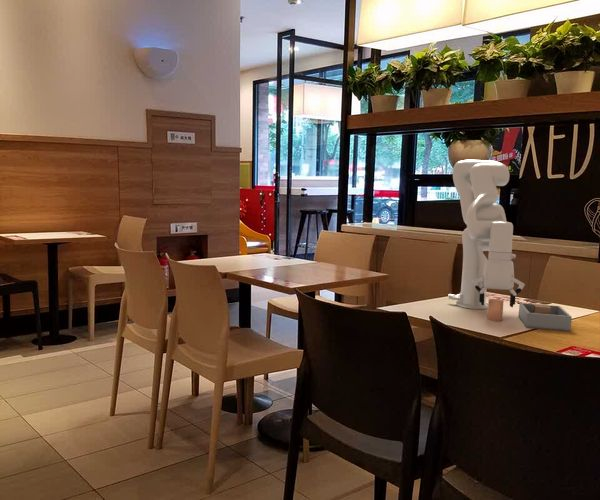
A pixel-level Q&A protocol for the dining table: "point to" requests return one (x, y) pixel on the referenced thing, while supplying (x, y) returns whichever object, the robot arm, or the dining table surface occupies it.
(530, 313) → the tote
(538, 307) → the walnut cube
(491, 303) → the terracotta cylinder
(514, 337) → the dining table surface
